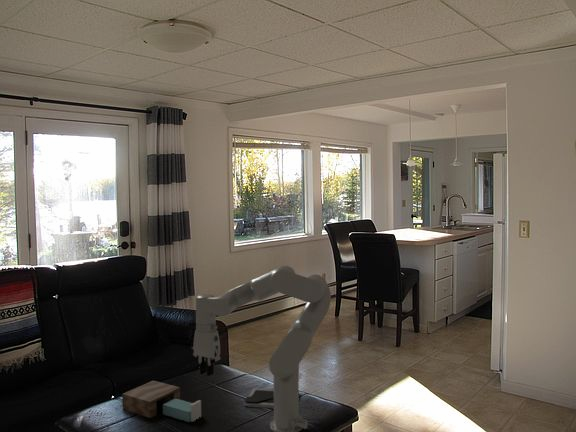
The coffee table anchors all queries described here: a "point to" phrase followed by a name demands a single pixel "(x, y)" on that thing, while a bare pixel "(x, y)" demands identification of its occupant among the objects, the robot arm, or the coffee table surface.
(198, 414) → the teal shell
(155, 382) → the walnut rack
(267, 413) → the coffee table surface
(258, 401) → the picture frame
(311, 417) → the coffee table surface
